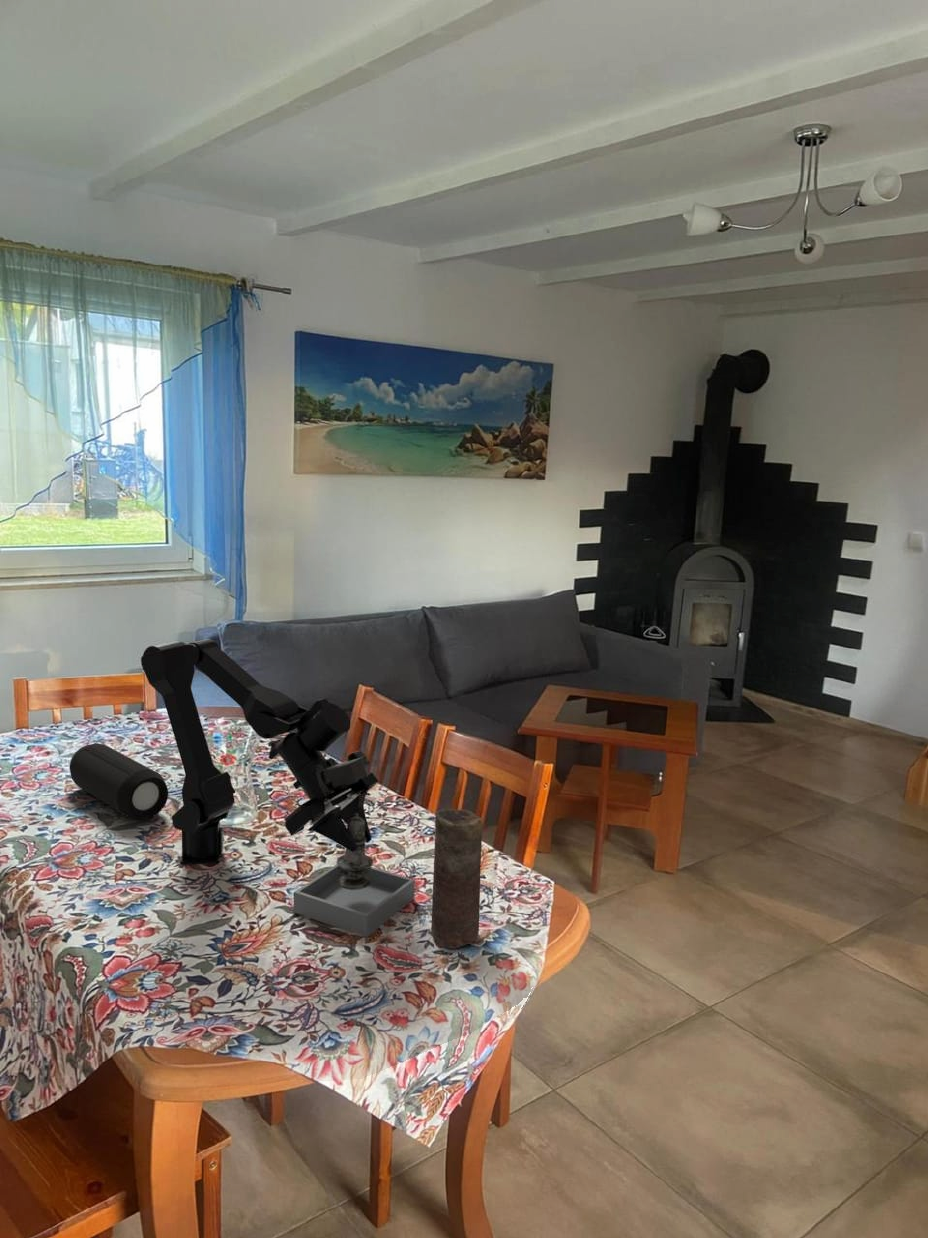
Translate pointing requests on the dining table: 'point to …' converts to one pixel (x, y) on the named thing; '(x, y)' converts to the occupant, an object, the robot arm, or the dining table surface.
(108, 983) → the dining table surface
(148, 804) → the portable speaker
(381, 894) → the tray
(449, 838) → the candle
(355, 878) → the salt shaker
